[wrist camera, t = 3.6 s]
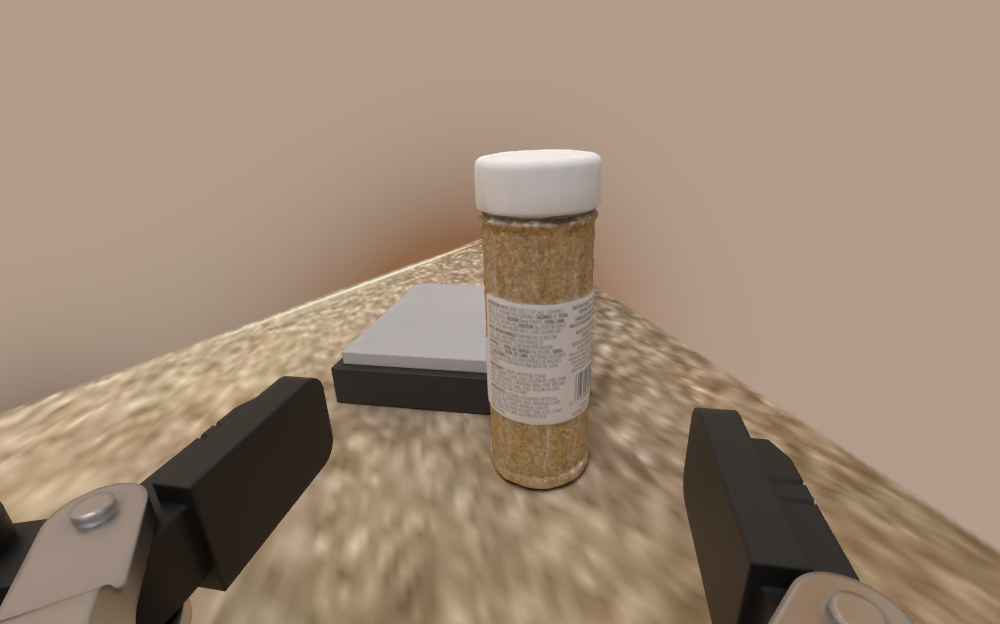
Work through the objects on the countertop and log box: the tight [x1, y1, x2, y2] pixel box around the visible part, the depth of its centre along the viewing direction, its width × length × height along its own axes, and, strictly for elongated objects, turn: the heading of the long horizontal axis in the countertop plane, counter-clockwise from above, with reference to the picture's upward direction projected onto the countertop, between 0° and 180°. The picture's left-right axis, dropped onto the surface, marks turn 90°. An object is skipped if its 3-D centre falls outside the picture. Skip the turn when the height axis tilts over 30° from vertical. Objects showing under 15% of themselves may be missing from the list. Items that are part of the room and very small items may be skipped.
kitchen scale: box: [331, 283, 491, 415], centre depth 31 cm, size 13×13×3 cm
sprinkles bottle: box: [474, 149, 602, 489], centre depth 19 cm, size 5×5×14 cm
